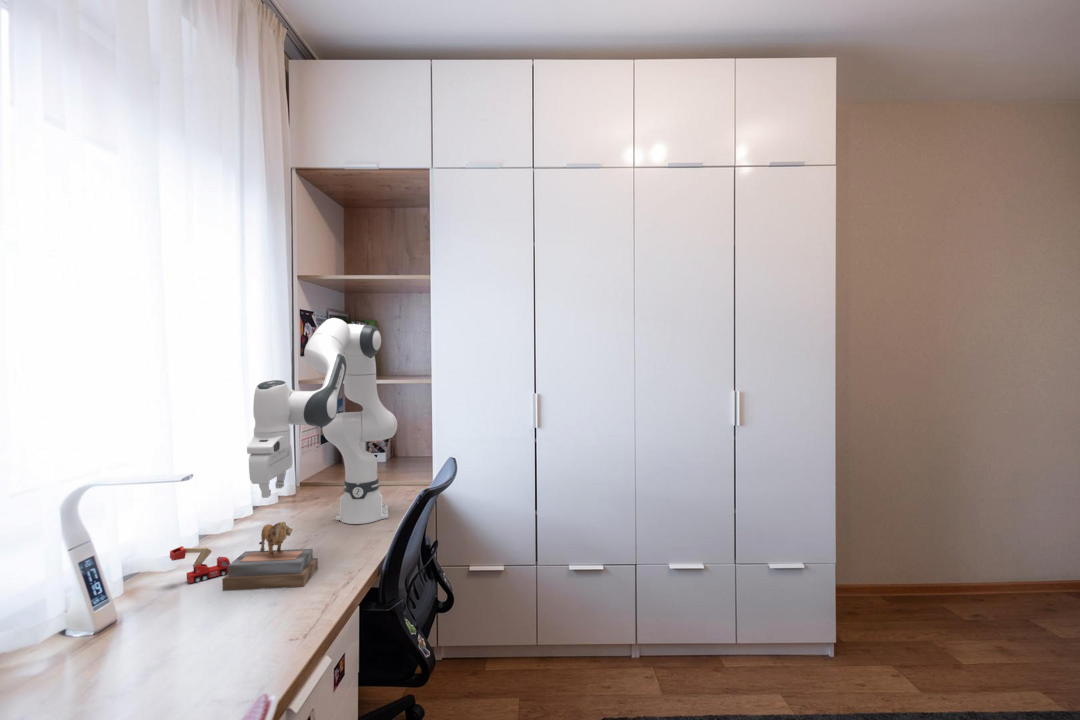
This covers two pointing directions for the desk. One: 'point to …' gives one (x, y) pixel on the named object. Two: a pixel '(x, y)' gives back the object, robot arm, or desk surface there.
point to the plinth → (271, 580)
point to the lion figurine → (274, 536)
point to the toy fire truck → (201, 569)
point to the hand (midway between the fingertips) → (273, 492)
